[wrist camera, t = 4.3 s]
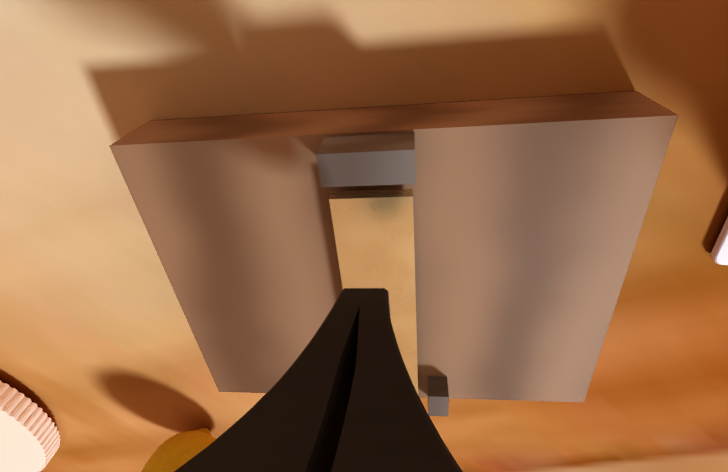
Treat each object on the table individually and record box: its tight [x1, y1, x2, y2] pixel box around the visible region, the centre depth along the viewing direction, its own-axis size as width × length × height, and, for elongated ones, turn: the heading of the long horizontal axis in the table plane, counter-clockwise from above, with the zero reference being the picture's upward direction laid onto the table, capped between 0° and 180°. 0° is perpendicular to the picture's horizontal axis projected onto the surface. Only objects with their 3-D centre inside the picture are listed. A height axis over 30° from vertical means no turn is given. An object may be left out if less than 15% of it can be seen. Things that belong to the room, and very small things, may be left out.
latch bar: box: [329, 189, 418, 394], centre depth 18 cm, size 3×12×1 cm, turn 5°
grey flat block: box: [110, 91, 678, 416], centre depth 19 cm, size 20×15×5 cm
